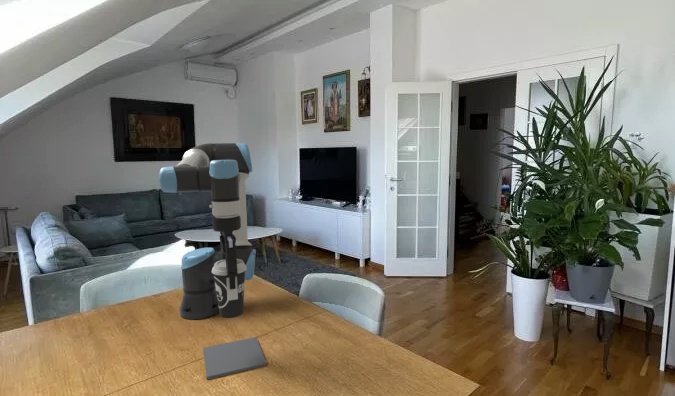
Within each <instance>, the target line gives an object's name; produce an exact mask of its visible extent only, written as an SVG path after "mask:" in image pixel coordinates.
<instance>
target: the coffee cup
mask: <svg viewBox="0 0 675 396" xmlns="http://www.w3.org/2000/svg"><path fill="white" fill-rule="evenodd" d="M246 269H247V267H246V265H245V264H244V262H243V260H241V259H237V272H238V276H237V288H238V299H236V300H229V301H228V300H227V281H226V278H224V276H226V275H227V270H226V260H225V259H224V260H220V261H217V262H216V263H215V264H214V267H213V268H212V273H213V274H214V279H215V286H216V292H217V299H218V306H219V316H220V317H221V318H223V319H233V318H238V317H240V316H242V314H244V303H245V301H244V300H245V282H246V281H245V270H246ZM230 273H232V272H230Z"/></svg>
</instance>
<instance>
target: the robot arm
mask: <svg viewBox="0 0 675 396" xmlns="http://www.w3.org/2000/svg"><path fill="white" fill-rule="evenodd" d="M250 153H251V152H250V147H249V145H248V144H247V143H244V142H243V143H242V142H240V143H239V142H231V143H229V142H225V143H224V142H223V143H222V142H221V143H220V142H219V143H217V142H214V143H210V142H209V143H203V144H199V145H196V146H193V147H192V148H189V149H188V150H186V151H185V152H184V154H183V156H182V158H181V159H182V160H180V161H179V163H178V164H177V165H175V166H172V165H169V166H165V167H164V166H163V167H162V168H160V170H159V173H158V182H159V187H160V190H161V191H162V192H164V193H170V194H171V193H173V194H176V193H195V192H210V195H211V197H210V199H211V204H209V206H208V207H209V209H211V214H212V216H213V217H212V230H213V231H214V232H218V233H220V234H219V243H220V251H216V250H215V249H214V248H213V247H200V248H198V249H194V250H190V251H188V252H186V253H184V255H182V257H181V267H180V269H181V275H182V276H181V277H182V287H183V295H182V298H181V302H180V306H179V316H180V317H181V318H183V319H187V320H202V319H207V318H210V317H213V316H215V315H217V314H218V313H219V306H218V299H217V292H216V286H215V279H214V274H213V273H212V268H213V267H214V264H215V263H216V262H217V261H220V260H224V259H225V260H226V270H227V275H226V276H224V278H226V281H227V300H228V301H229V300H236V299H238V288H237V276H238V272H237V259H241V260H243V262H244V264H245V265H246V267H247V269H246V270H245V282H246V281H250V280H252V279H253V278H254V274H255V265H256V254H257V252H256V251H257V250H256V248H253V245H252V243H251V242H249V240H248V237H249V236H248V215H247V212H248V211H247V195H246V194H247V193H246V189H247V187H246V181H247V180H248V178H249V177H250V173H252V172H253V165H252V159H251V154H250ZM230 272H232V273H230ZM219 314H220V313H219Z"/></svg>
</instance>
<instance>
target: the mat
mask: <svg viewBox="0 0 675 396" xmlns="http://www.w3.org/2000/svg"><path fill="white" fill-rule="evenodd" d="M202 351H203V359H204V368H205V375H206V380H207V381H208V380H211V379H215V378H220V377H224V376H225V377H226V376H228V375H233V374H237V373H242V372H245V371H249V370H254V369H259V368H263V367H266V366H268V363H267V361H266V357H265V355H264V353H263V351H262V348H261V345H260V343H259V341H258V338H257V336H255V337H249V338H248V337H247V338H245V339H239V340H234V341H229V342H224V343H221V344H215V345H214V344H213V345H211V346H209V345H208V346H204V347H203V348H202Z"/></svg>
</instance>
